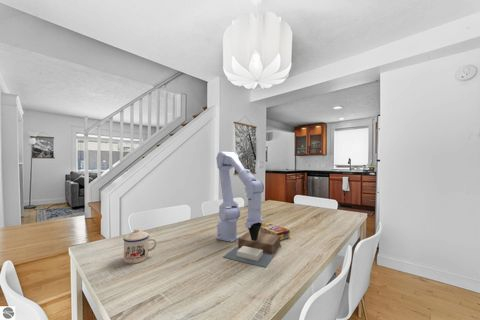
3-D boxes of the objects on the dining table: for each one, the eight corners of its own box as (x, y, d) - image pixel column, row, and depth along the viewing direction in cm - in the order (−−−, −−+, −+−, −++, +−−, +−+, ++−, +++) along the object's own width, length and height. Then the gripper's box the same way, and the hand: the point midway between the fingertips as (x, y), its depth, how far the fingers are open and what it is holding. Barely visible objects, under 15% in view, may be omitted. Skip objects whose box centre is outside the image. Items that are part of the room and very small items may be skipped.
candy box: (276, 232, 100) (257, 225, 113) (277, 241, 100) (258, 233, 113) (289, 229, 105) (270, 222, 118) (290, 237, 105) (270, 230, 117)
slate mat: (223, 257, 82) (223, 256, 82) (235, 247, 92) (235, 246, 92) (265, 267, 74) (265, 266, 74) (274, 255, 84) (274, 254, 84)
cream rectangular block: (243, 245, 88) (243, 250, 88) (236, 251, 83) (236, 256, 83) (262, 249, 84) (262, 254, 84) (257, 255, 79) (257, 260, 79)
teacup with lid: (121, 266, 75) (121, 234, 75) (125, 255, 83) (125, 227, 83) (156, 260, 79) (156, 230, 79) (156, 251, 88) (157, 224, 88)
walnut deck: (238, 247, 92) (238, 238, 92) (248, 238, 103) (249, 230, 103) (272, 254, 85) (272, 245, 85) (280, 244, 96) (280, 235, 96)
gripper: (256, 213, 80) (256, 248, 80) (268, 206, 93) (268, 236, 93) (240, 211, 83) (240, 244, 83) (254, 204, 96) (254, 233, 96)
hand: (254, 240), depth 88 cm, fingers closed
